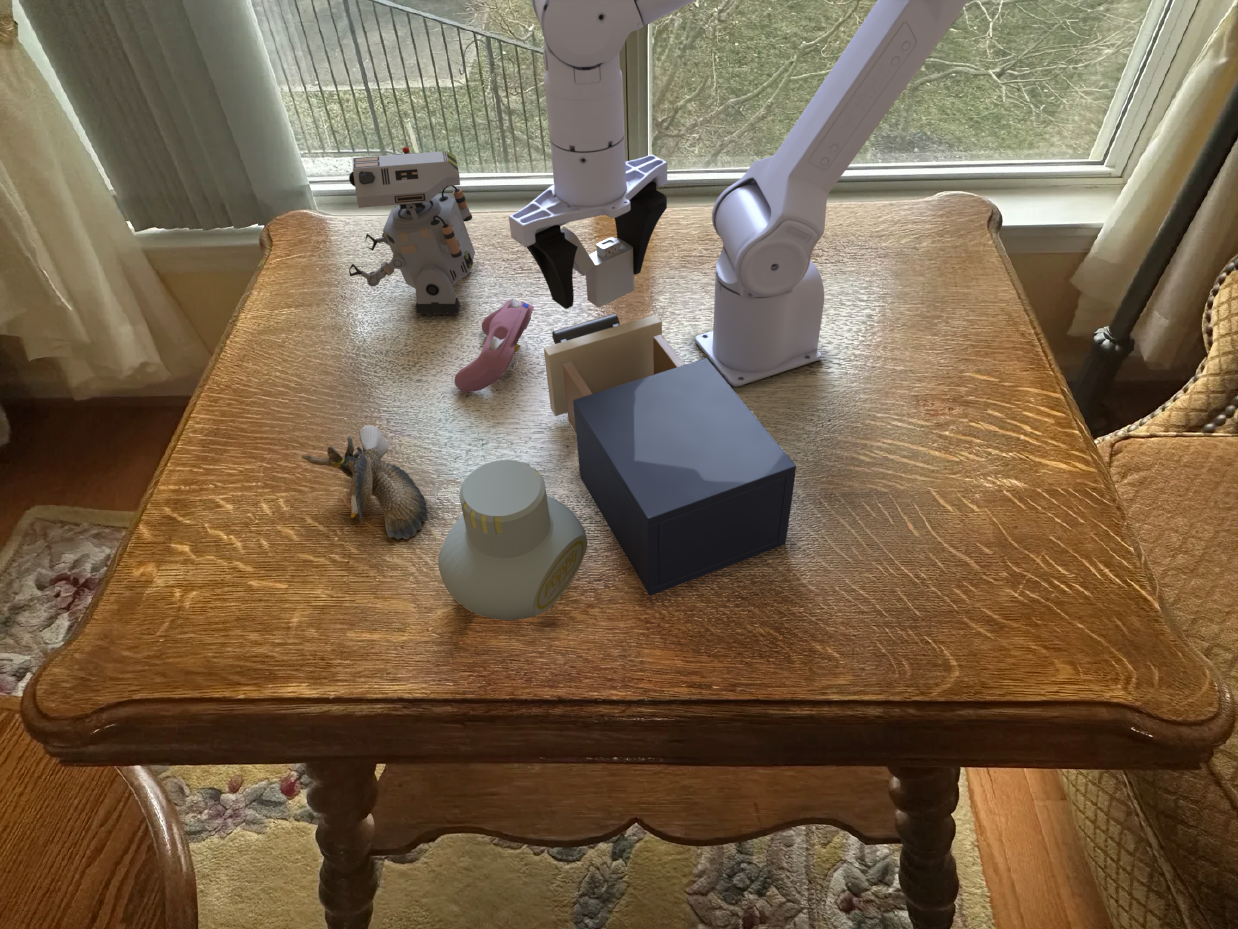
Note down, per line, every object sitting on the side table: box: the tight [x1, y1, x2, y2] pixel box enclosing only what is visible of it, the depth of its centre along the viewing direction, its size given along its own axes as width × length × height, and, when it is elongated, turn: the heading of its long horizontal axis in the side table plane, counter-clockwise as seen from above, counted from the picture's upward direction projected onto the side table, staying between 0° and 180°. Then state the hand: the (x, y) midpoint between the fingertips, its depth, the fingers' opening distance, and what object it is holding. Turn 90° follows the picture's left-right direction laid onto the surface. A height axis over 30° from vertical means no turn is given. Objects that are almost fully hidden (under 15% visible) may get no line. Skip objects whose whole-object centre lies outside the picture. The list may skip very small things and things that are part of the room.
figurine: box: [348, 146, 476, 317], centre depth 93 cm, size 9×12×15 cm
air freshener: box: [437, 459, 588, 621], centre depth 67 cm, size 11×8×10 cm
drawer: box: [543, 313, 686, 434], centre depth 79 cm, size 17×10×7 cm, turn 24°
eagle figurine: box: [301, 424, 428, 540], centre depth 75 cm, size 8×7×9 cm
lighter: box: [561, 226, 635, 308], centre depth 79 cm, size 7×2×8 cm, turn 128°
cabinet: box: [573, 357, 797, 597], centre depth 72 cm, size 14×12×9 cm
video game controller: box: [454, 297, 535, 393], centre depth 87 cm, size 10×5×7 cm, turn 168°
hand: (596, 285), depth 81 cm, fingers closed on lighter, 7 cm apart
